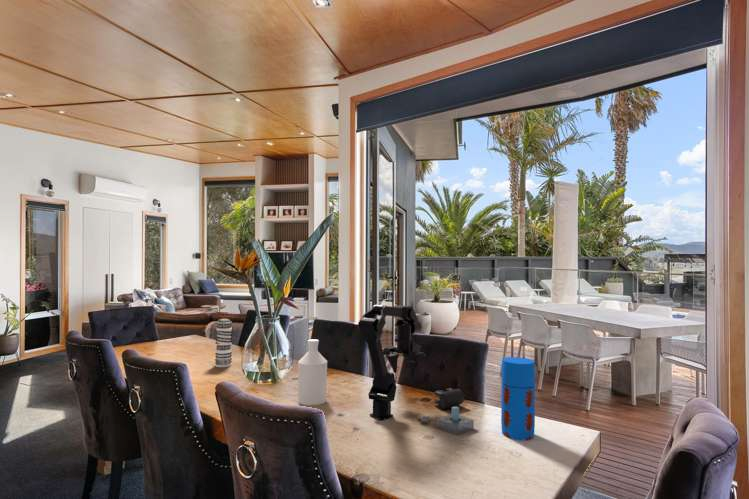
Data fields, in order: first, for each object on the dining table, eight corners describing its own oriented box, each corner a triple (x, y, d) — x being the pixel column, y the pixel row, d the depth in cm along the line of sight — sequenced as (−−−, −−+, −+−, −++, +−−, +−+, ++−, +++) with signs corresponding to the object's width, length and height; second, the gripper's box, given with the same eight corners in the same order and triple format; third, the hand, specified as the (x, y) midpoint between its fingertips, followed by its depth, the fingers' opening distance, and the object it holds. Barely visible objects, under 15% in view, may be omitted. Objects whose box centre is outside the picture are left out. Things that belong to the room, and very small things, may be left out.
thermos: (517, 442, 147) (518, 365, 147) (494, 431, 156) (495, 358, 157) (541, 437, 152) (542, 362, 152) (517, 426, 161) (518, 355, 162)
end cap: (446, 412, 176) (446, 394, 176) (433, 407, 181) (433, 390, 182) (464, 407, 181) (464, 390, 182) (451, 402, 187) (451, 386, 187)
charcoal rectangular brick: (427, 425, 162) (427, 421, 162) (420, 425, 162) (420, 420, 162) (429, 420, 167) (429, 416, 167) (422, 420, 167) (422, 416, 167)
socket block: (458, 435, 152) (458, 426, 153) (437, 427, 159) (437, 418, 159) (473, 428, 159) (473, 419, 159) (452, 421, 165) (452, 413, 165)
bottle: (307, 407, 179) (308, 344, 179) (292, 400, 188) (293, 339, 188) (332, 401, 186) (333, 340, 187) (316, 394, 195) (317, 336, 196)
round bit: (455, 429, 157) (456, 409, 157) (449, 427, 159) (450, 407, 159) (460, 428, 159) (460, 407, 159) (454, 425, 161) (454, 406, 161)
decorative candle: (211, 366, 243) (212, 320, 243) (219, 362, 252) (220, 317, 252) (227, 367, 241) (227, 320, 242) (235, 363, 250) (235, 318, 251)
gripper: (434, 337, 183) (434, 376, 182) (400, 331, 196) (400, 367, 196) (416, 340, 175) (415, 381, 175) (382, 334, 189) (382, 371, 188)
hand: (403, 375), depth 184 cm, fingers open, 9 cm apart
